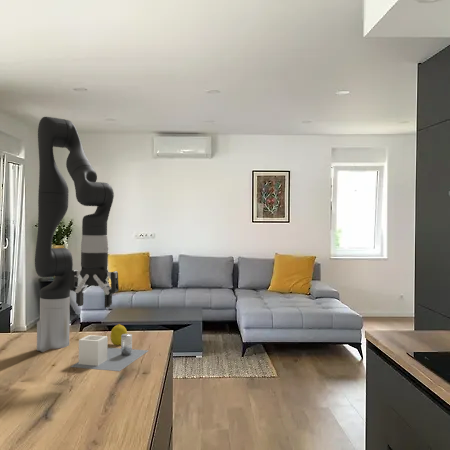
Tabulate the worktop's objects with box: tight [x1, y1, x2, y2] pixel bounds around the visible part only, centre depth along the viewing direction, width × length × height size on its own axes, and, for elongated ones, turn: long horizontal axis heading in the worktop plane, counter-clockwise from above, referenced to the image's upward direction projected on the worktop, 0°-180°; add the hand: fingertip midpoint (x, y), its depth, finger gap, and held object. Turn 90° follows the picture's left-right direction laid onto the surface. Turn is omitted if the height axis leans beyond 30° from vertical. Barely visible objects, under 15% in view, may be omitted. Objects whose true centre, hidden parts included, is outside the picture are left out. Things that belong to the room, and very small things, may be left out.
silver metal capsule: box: [120, 333, 133, 356], centre depth 154 cm, size 3×3×6 cm
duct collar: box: [78, 334, 109, 366], centre depth 146 cm, size 6×6×7 cm
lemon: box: [110, 323, 128, 346], centre depth 167 cm, size 6×6×8 cm
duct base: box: [70, 346, 149, 372], centre depth 150 cm, size 15×22×2 cm
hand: (93, 306), depth 145 cm, fingers open, 8 cm apart
